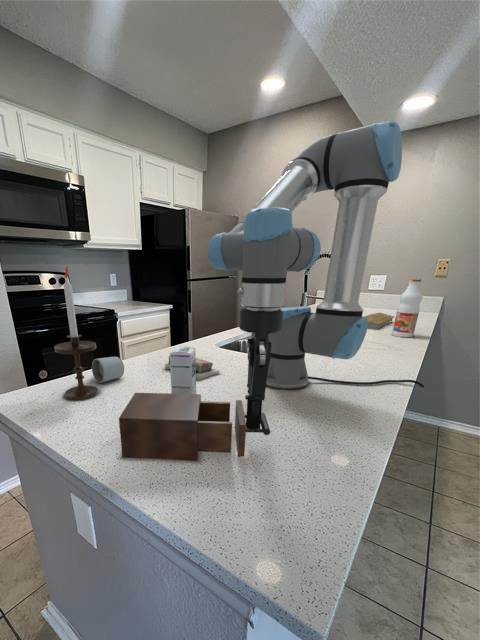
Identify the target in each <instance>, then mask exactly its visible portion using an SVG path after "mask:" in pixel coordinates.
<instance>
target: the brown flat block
mask: <svg viewBox="0 0 480 640" xmlns="http://www.w3.org/2000/svg"><path fill="white" fill-rule="evenodd" d="M364 317H365V318H367V319H368V328H367V330H376V331H377V330H379V329H381V328H383V327H385V326H387V325H389V324H391V323H393V319H395V316H394V315H391V314H388V313H383V312H376V313H370V314H368V315H364ZM390 321H391V322H390Z"/></svg>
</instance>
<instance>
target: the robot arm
mask: <svg viewBox="0 0 480 640" xmlns="http://www.w3.org/2000/svg"><path fill="white" fill-rule="evenodd" d="M402 160H403V138H402V131H401V127H400V126H399V124H398V123H397V122H396V121H394V120H389V121H383V122H374V123H373V124H370V125H366V126H361V127H358V128H354V129H349V130H345V131H342V132H338V133H333V134H328V135H326V136H324V137H321V138H319V139H318V140H316V141H314V142H313V143H311V144H310V145H308V146H307V147H306V148H304V149H303V150H302V151H301V152H299V153H298V154H297V155H295V157H293V159H291V161H290V162H288V164H287V165H286V166H285V167H284V168H283V170H282V172H281V177H280V178H279V179H278V180H277V181H276V182H275V184H274V185H272V186H271V188H270V189H268V191H267V192H266V193H265V194H264V195H263V196H262V197H261V198H260V199H259V201H257V203H256V204H255V205H253V207H252V208H251V209H250V210H249V211H248V213H246V214H245V216H244V217H243V218H242V219H241V220H240V221H239V222H238V223H236V225H235V226H233V228H232V229H231V230H230V231H228V232H226V231H223V232H221V233H216V234H214V235H212V237H211V238H210V240H209V242H208V246H207V258H208V260H209V264H210V265H211V267H212V268H214V269H216V270H217V271H218V270H219V271H227V272H233V271H234V272H235V271H236V272H237V271H240V272H241V286H242V287H238V288H237V291H236V292H237V294H239V295H240V305H241V306H242V308H241V309H240V310H239V320H238V321H239V323H238V328H239V329H240V331H242V332H245V333H248V334H249V333H251V334H250V338H247V341H246V346H247V361H248V362H247V363H248V364H247V384H246V388H247V394H244V395H245V400H246V401H247V402H246V414H245V415H246V418H245V421H246V428H255V429H261V413H262V410H263V401H265V399H266V391H267V390H266V388H267V387H270V388H274V389H280V390H281V389H282V390H283V389H284V390H294V389H295V390H296V389H300V388H304V387H306V386H307V385H308V382H309V380H314V381H321V382H328V383H335V384H345V385H359V386H361V385H362V386H368V385H378V384H388V383H397V384H398V383H412V384H416V385H418V386H419V387H420V388H425V385H423V384H422V383H421V382H420V381H417V380H415V379H383V380H376V381H349V380H348V381H347V380H337V379H330V378H323V377H317V376H310V375H309V374H308V369H307V364H306V360H305V357H306V354H310V355H315V356H321V357H325V358H326V357H327V358H332V359H333V360H335V359H338V360H351V359H352V358H354V357H355V356H356V355H357V353H358V352H359V350H360V349H361V347H362V345H363V343H364V340H365V337H366V335H367V332H368V329H367V328H368V319H367V318H365V316H363V314H364V308H363V307H362V306H361V304H360V303H359V301H360V295H361V289H362V284H363V280H364V274H365V269H366V264H367V258H368V254H369V250H370V244H371V239H372V233H373V228H374V223H375V218H376V213H377V208H378V203H379V200H380V199H381V198H382V197H383V196H384V195H386V194H387V192H388V188H389V184H390V183H393V182H394V181H397V180H398V178H399V176H400V173H401V169H402ZM332 190H334V193H333V196H334V197H335V198H336V200H337V201H338V207H337V215H336V220H335V226H334V233H333V238H332V239H333V240H332V245H331V251H330V257H329V263H328V270H327V275H326V282H325V288H324V295H323V299H322V302H320V303H319V304H318V305H317V306H316V307H315V312H312V308H311V307H310V306H308V305H307V306H305V305H302V306H288V307H284V306H285V301H286V300H285V299H286V290H287V273H288V272H297V273H299V272H301V271H305V270H308V269H309V268H311V267H313V266H314V265H315V264H316V262H317V261H318V259H319V257H320V254H321V250H322V249H321V247H322V246H321V241H320V238H319V237H318V235H317V234H316V233H315V232H314V231H311V230H309V229H307V228H305V227H301V228H300V227H293V226H294V224H293V214H292V213H294V212H295V210H296V209H297V208H298V206H299V205H300V204H301V203H302V202H304V201H307V200H308V199H310V198H311V197H312V196H313V195H314V194H316V193H321V192H326V191H332Z"/></svg>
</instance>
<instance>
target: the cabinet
mask: <svg viewBox="0 0 480 640" xmlns="http://www.w3.org/2000/svg"><path fill="white" fill-rule="evenodd" d="M200 401H202V394H199V393H196V394H171V393H166V392H165V393H163V392H161V393H160V392H134V393H133V395H132V397H131V398H130V400H129V401H128V403H127V405H126V406H125V408H124V409H123V410H122V412H121V414H120V416H119V417H118V424H119V437H120V446H121V447H120V448H121V455H122V456H121V458H123V459H145V460H169V461H170V460H171V461H195V462H197V461H198V460H199V459H198V458H199V452H198V416H199V408H200Z"/></svg>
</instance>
